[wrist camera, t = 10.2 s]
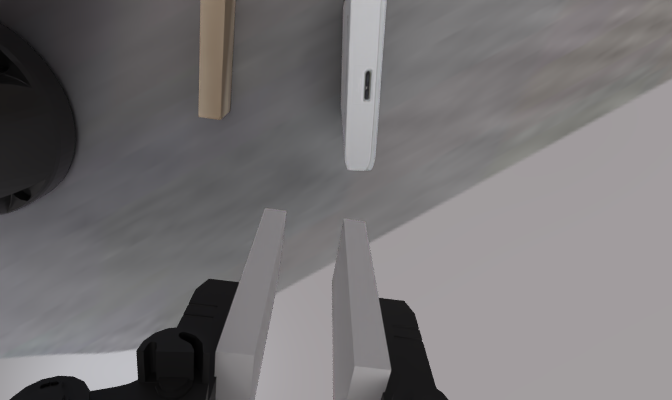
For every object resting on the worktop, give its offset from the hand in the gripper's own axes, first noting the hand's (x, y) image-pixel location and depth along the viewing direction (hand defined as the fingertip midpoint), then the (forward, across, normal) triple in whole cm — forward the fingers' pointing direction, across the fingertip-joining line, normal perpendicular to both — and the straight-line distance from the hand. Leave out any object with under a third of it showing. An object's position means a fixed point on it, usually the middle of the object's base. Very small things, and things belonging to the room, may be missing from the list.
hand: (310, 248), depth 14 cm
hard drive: (+19, +2, +5) cm, 19 cm away
